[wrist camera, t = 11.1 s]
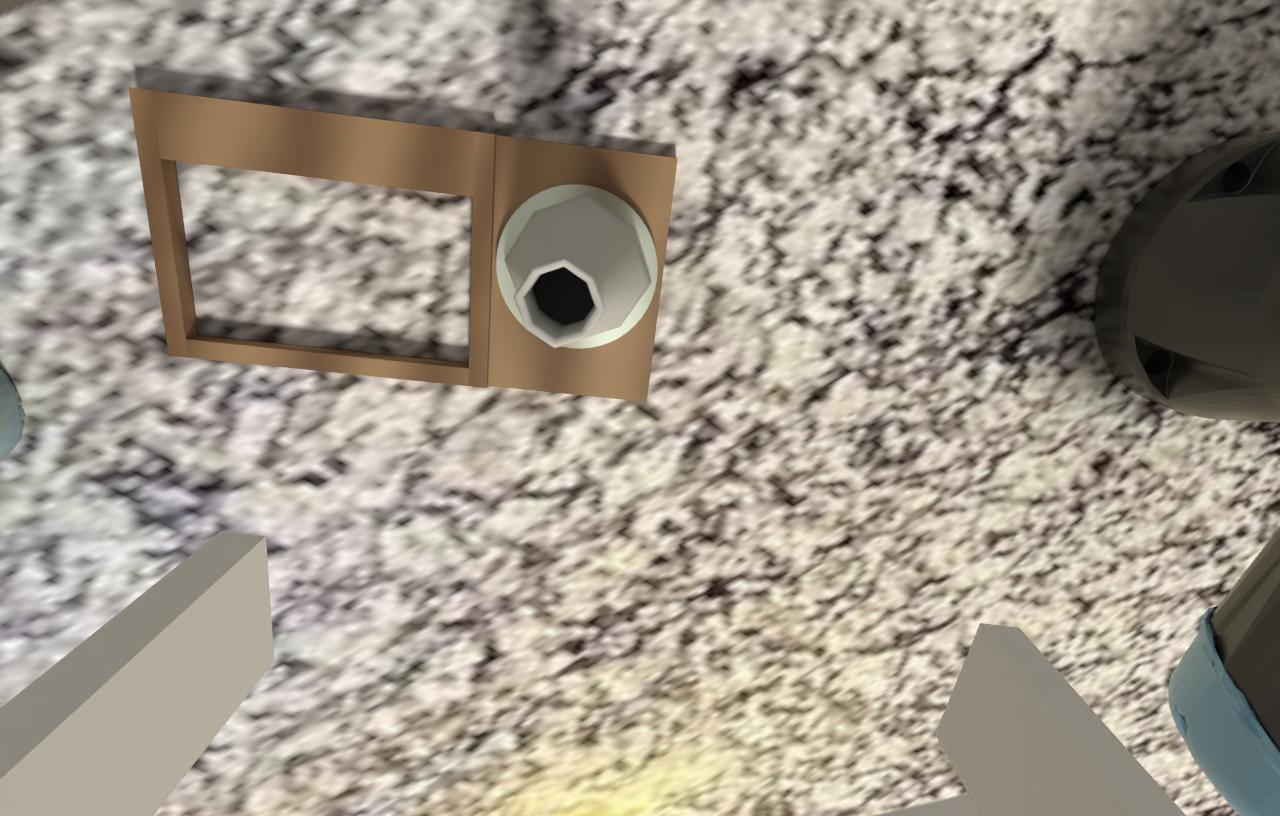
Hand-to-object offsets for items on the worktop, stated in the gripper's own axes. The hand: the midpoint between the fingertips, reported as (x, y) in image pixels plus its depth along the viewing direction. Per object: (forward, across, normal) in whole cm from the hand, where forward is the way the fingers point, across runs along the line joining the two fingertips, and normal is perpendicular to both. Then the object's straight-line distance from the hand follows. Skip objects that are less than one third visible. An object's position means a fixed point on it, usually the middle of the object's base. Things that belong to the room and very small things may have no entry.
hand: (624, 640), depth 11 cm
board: (+24, +12, -3) cm, 27 cm away
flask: (+23, +3, -4) cm, 24 cm away
